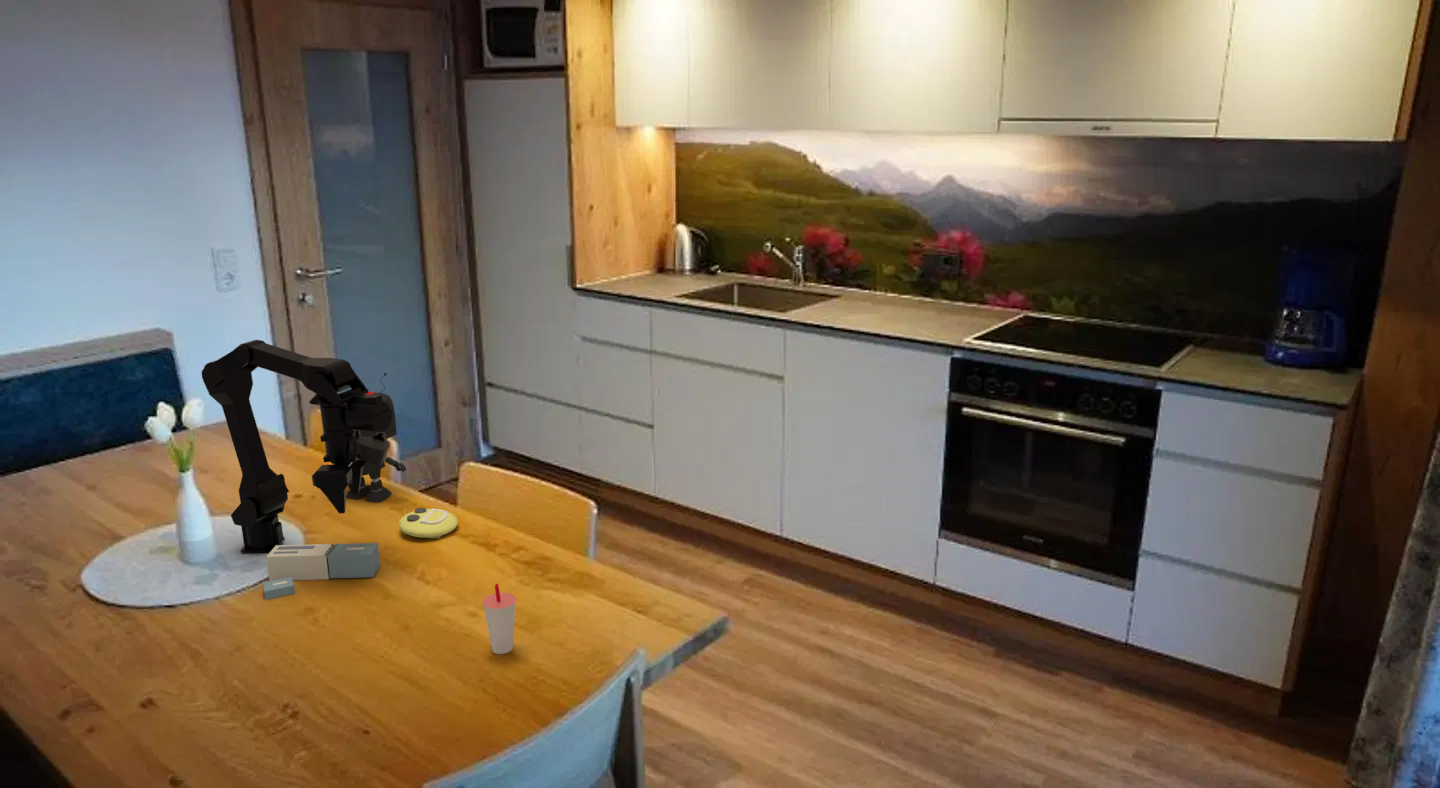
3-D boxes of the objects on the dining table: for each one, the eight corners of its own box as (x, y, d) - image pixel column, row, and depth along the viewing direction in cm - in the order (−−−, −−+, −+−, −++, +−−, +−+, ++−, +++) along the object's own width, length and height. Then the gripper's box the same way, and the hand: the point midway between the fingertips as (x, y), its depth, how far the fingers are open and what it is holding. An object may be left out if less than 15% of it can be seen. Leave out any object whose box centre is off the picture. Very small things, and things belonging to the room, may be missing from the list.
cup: (481, 656, 159) (476, 590, 155) (491, 639, 164) (486, 575, 160) (514, 658, 158) (509, 591, 155) (522, 640, 164) (518, 576, 160)
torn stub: (265, 601, 177) (264, 591, 176) (264, 592, 180) (262, 582, 180) (295, 595, 179) (294, 584, 179) (293, 586, 183) (291, 576, 182)
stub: (330, 578, 185) (327, 554, 183) (338, 566, 189) (335, 543, 188) (373, 577, 185) (370, 553, 184) (380, 565, 190) (377, 542, 188)
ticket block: (269, 580, 184) (265, 556, 182) (279, 568, 189) (275, 544, 187) (328, 579, 185) (325, 554, 183) (337, 567, 189) (334, 543, 188)
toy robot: (421, 494, 225) (410, 369, 216) (396, 509, 216) (383, 380, 208) (344, 483, 232) (330, 361, 223) (317, 497, 223) (301, 371, 215)
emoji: (465, 506, 210) (412, 500, 211) (445, 529, 199) (388, 523, 200) (465, 522, 211) (412, 516, 212) (445, 547, 200) (389, 540, 201)
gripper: (369, 441, 175) (379, 521, 179) (394, 410, 193) (403, 484, 197) (305, 443, 174) (317, 524, 179) (337, 413, 192) (347, 486, 197)
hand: (349, 503), depth 188 cm, fingers open, 9 cm apart
